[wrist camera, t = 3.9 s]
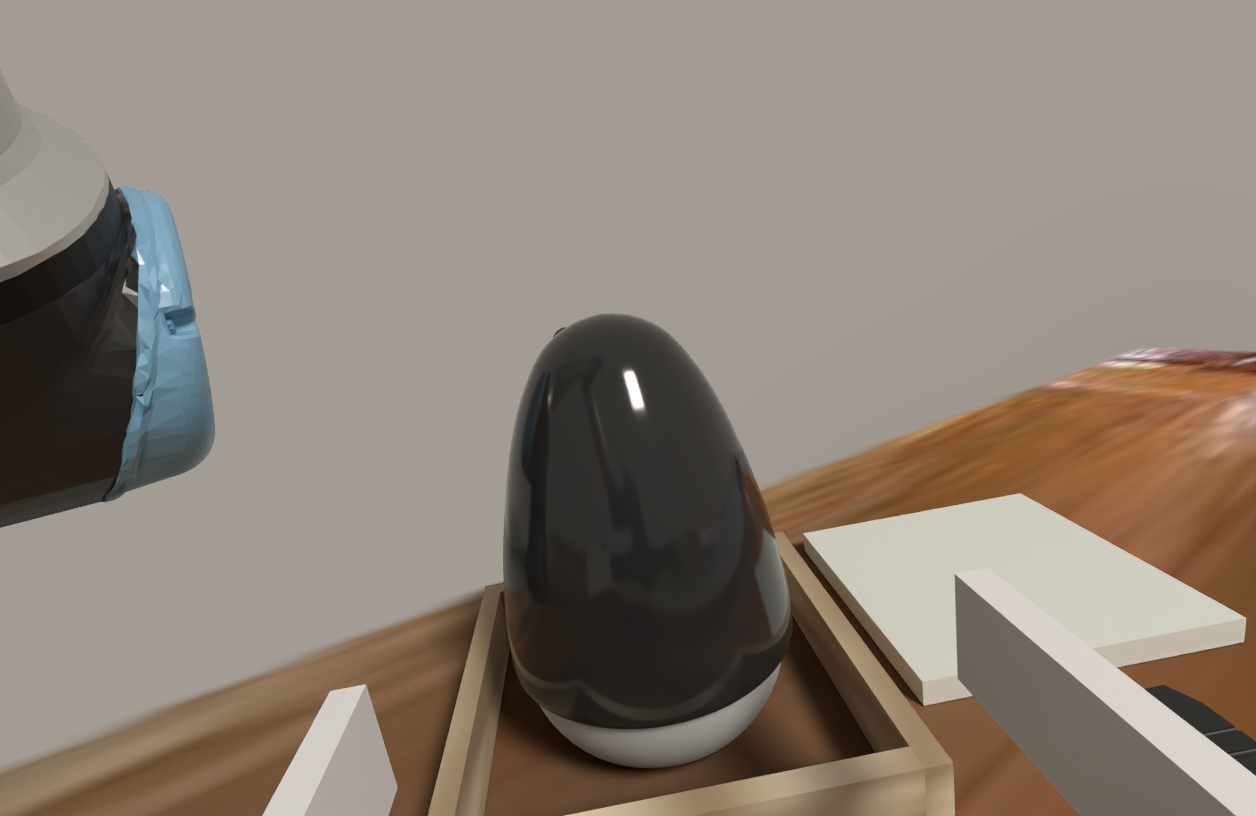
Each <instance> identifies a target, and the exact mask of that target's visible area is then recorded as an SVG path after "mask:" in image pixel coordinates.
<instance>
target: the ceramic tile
mask: <svg viewBox="0 0 1256 816" xmlns="http://www.w3.org/2000/svg"><path fill="white" fill-rule="evenodd" d="M803 538H804V549H805V552H806V553H807V554H808V556H809V557H810V558H811V559H812V561H813V562H814V563H815V565H816V566H817V567H818V569H819V570H820V571H821V573H822V574H823V575H824V576H825V578H826V579H827V580H828V582H829V583H830V584H831V586H832V587H833V588H834V590H835V591H836V592H837V593H838V595H839V596H840V597H841V599H842V600H843V601H844V603H845V604H846V605H847V606H848V608H849V609H850V610H851V612H852V613H853V614H854V616H855V617H856V618H857V620H858V621H859V622H860V623H861V625H862V626H863V627H864V629H865V630H866V631H867V633H868V634H869V635H870V637H871V638H872V639H873V640H874V642H875V643H876V644H877V646H878V647H879V648H880V650H881V651H882V652H883V653H884V655H885V656H886V657H887V659H888V660H889V661H890V663H891V664H892V665H893V667H894V668H895V669H896V670H897V672H898V673H899V674H900V676H901V677H902V678H903V680H904V681H905V682H906V683H907V685H908V686H909V687H910V689H911V690H912V691H913V693H914V694H915V695H916V697H917V698H918V699H919V700H920V702H921V703H922V704H923V706H925V705H930V704H935V703H940V702H945V701H950V700H955V699H960V698H965V697H970V696H973V695H972V694H971V693H970V692H969V691H968V690H967V688H966V687H965V686H964V685H963V684H962V683H961V682H960V681H959V679H958V674H957V640H956V606H955V574H956V573H961V572H966V571H972V570H977V569H982V568H989V569H990V570H991V571H993V572H994V573H995V574H996V575H998V576H999V577H1000V578H1002V579H1003V580H1004V581H1006V582H1007V583H1008V584H1009V585H1011V586H1012V587H1013V588H1015V589H1016V590H1017V591H1018V592H1020V593H1021V594H1022V595H1024V596H1025V597H1026V598H1027V599H1029V600H1030V601H1031V602H1033V603H1034V604H1035V605H1036V606H1038V607H1039V608H1040V609H1042V610H1043V611H1044V612H1045V613H1047V614H1048V615H1049V616H1051V617H1052V618H1053V619H1054V620H1056V621H1057V622H1058V623H1060V624H1061V625H1062V626H1063V627H1065V628H1066V629H1067V630H1069V631H1070V632H1071V633H1072V634H1074V635H1075V636H1076V637H1078V638H1079V639H1080V640H1081V641H1083V642H1084V643H1085V644H1087V645H1088V646H1089V647H1091V648H1092V649H1093V650H1094V651H1096V652H1097V653H1098V654H1100V655H1101V656H1102V657H1103V658H1105V659H1106V660H1107V661H1109V662H1110V663H1111V664H1112V665H1114V666H1115V667H1121V666H1126V665H1131V664H1136V663H1141V662H1147V661H1152V660H1157V659H1162V658H1167V657H1172V656H1177V655H1182V654H1187V653H1192V652H1197V651H1202V650H1207V649H1212V648H1217V647H1222V646H1227V645H1232V644H1237V643H1242V642H1244V636H1245V626H1246V618H1245V617H1244V616H1242V615H1240V614H1238V613H1236V612H1234V611H1233V610H1231V609H1229V608H1227V607H1225V606H1224V605H1222V604H1220V603H1218V602H1216V601H1215V600H1213V599H1211V598H1209V597H1207V596H1205V595H1204V594H1202V593H1200V592H1198V591H1196V590H1195V589H1193V588H1191V587H1189V586H1187V585H1186V584H1184V583H1182V582H1180V581H1178V580H1176V579H1175V578H1173V577H1171V576H1169V575H1167V574H1166V573H1164V572H1162V571H1160V570H1158V569H1156V568H1155V567H1153V566H1151V565H1149V564H1147V563H1146V562H1144V561H1142V560H1140V559H1138V558H1137V557H1135V556H1133V555H1131V554H1129V553H1127V552H1126V551H1124V550H1122V549H1120V548H1118V547H1117V546H1115V545H1113V544H1111V543H1109V542H1107V541H1106V540H1104V539H1102V538H1100V537H1098V536H1097V535H1095V534H1093V533H1091V532H1089V531H1088V530H1086V529H1084V528H1082V527H1080V526H1078V525H1077V524H1075V523H1073V522H1071V521H1069V520H1068V519H1066V518H1064V517H1062V516H1060V515H1058V514H1057V513H1055V512H1053V511H1051V510H1049V509H1048V508H1046V507H1044V506H1042V505H1040V504H1039V503H1037V502H1035V501H1033V500H1031V499H1029V498H1028V497H1026V496H1024V495H1022V494H1014V495H1009V496H1004V497H998V498H993V499H987V500H982V501H977V502H971V503H966V504H960V505H955V506H949V507H944V508H939V509H933V510H928V511H922V512H917V513H912V514H906V515H901V516H895V517H890V518H885V519H879V520H874V521H868V522H863V523H858V524H852V525H847V526H841V527H836V528H830V529H825V530H820V531H814V532H809V533H803Z"/></svg>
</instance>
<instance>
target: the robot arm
mask: <svg viewBox="0 0 1256 816" xmlns="http://www.w3.org/2000/svg"><path fill="white" fill-rule="evenodd" d="M195 318H196V314H195V310H194V306H193V301H192V293H191V286H190V282H189V277H188V273H187V269H186V265H185V260H184V256H183V252H182V248H181V244H180V240H179V236H178V232H177V229H176V225H175V222H174V219H173V216H172V213H171V210H170V208H169V206H168V204H167V202H166V201H165V199H164V198H162V196H160V195H158V194H157V193H154V192H151V191H141V190H137V189H134V188H128V186H124V187H119V188H118V189H115V190H114V189H113V186H112V184H111V181H110V179H109V177H108V174H107V172H106V169H105V167H104V165H103V162H102V160H101V158H100V157H99V156H98V154H97V153H96V151H95V150H94V149H93V147H92V146H91V145H90V144H89V143H88V142H87V141H86V139H85V138H83V137H82V136H80V135H79V134H77V133H76V132H75V131H73V130H72V129H71V128H69V127H67V126H65V125H63V124H61V123H59V122H58V121H56V120H54V119H52V118H49V117H47V116H45V115H43V114H41V113H39V112H36V111H34V110H32V109H30V108H28V107H26V106H24V105H21V104H19V103H17V102H16V101H15V100H14V98H13V96H12V94H11V91H10V89H9V87H8V85H7V83H6V81H5V79H4V77H3V75H2V72H1V70H0V528H1V527H5V526H9V525H12V524H16V523H20V522H24V521H28V520H32V519H36V518H39V517H43V516H47V515H51V514H55V513H59V512H62V511H67V510H70V509H74V508H78V507H82V506H86V505H89V504H94V503H97V502H108V501H112V500H115V499H117V498H119V497H120V496H122V495H123V494H124V493H125V492H127V491H130V490H133V489H136V488H139V487H142V486H146V485H149V484H151V483H154V482H158V481H161V480H164V479H167V478H170V477H173V476H176V475H179V474H182V473H185V472H187V471H189V470H191V469H192V468H194V467H196V466H197V465H198V464H199V463H201V462H202V461H203V460H204V459H205V458H206V456H207V455H208V453H209V452H210V450H211V448H212V445H213V442H214V436H215V422H214V412H213V403H212V396H211V389H210V384H209V377H208V372H207V366H206V360H205V355H204V351H203V346H202V341H201V336H200V332H199V329H198V326H197V325H196V323H195ZM955 606H956V640H957V674H958V679H959V681H960V682H961V683H962V684H963V685H964V686H965V687H966V688H967V690H968V691H969V692H970V693H971V694H972V695H973V696H974V697H975V699H976V700H977V701H978V702H979V703H980V704H981V705H982V706H983V708H984V709H985V710H986V711H987V712H988V713H989V714H990V715H991V717H992V718H993V719H994V720H995V721H996V722H997V723H998V724H999V726H1000V727H1001V728H1002V729H1003V730H1004V731H1005V732H1006V733H1007V735H1008V736H1009V737H1010V738H1011V739H1012V740H1013V741H1014V742H1015V744H1016V745H1017V746H1018V747H1019V748H1020V749H1021V750H1022V751H1023V753H1024V754H1025V755H1026V756H1027V757H1028V758H1029V759H1030V760H1031V762H1032V763H1033V764H1034V765H1035V766H1036V767H1037V768H1038V769H1039V771H1040V772H1041V773H1042V774H1043V775H1044V776H1045V777H1046V778H1047V780H1048V781H1049V782H1050V783H1051V784H1052V785H1053V786H1054V787H1055V789H1056V790H1057V791H1058V792H1059V793H1060V794H1061V795H1062V796H1063V798H1064V799H1065V800H1066V801H1067V802H1068V803H1069V804H1070V805H1071V807H1072V808H1073V809H1074V810H1075V811H1076V812H1077V813H1078V814H1079V816H1256V741H1254V740H1253V739H1251V738H1250V737H1249V736H1247V735H1246V734H1245V733H1243V732H1242V731H1237V730H1236V729H1235V726H1234V725H1232V724H1231V723H1229V722H1228V721H1227V720H1225V719H1224V718H1223V717H1221V716H1220V715H1218V714H1217V713H1216V712H1214V711H1213V710H1212V709H1210V708H1209V707H1207V706H1206V705H1205V704H1203V703H1202V702H1199V701H1197V700H1195V699H1193V698H1191V697H1189V696H1186V695H1184V694H1182V693H1180V692H1178V691H1176V690H1173V689H1171V688H1169V687H1167V686H1165V685H1162V686H1157V687H1152V688H1147V689H1143V688H1142V687H1141V686H1139V685H1138V684H1137V683H1136V682H1134V681H1133V680H1132V679H1130V678H1129V677H1128V676H1127V675H1125V674H1124V673H1123V672H1121V671H1120V670H1119V669H1118V668H1116V667H1115V666H1114V665H1112V664H1111V663H1110V662H1109V661H1107V660H1106V659H1105V658H1103V657H1102V656H1101V655H1100V654H1098V653H1097V652H1096V651H1094V650H1093V649H1092V648H1091V647H1089V646H1088V645H1087V644H1085V643H1084V642H1083V641H1081V640H1080V639H1079V638H1078V637H1076V636H1075V635H1074V634H1072V633H1071V632H1070V631H1069V630H1067V629H1066V628H1065V627H1063V626H1062V625H1061V624H1060V623H1058V622H1057V621H1056V620H1054V619H1053V618H1052V617H1051V616H1049V615H1048V614H1047V613H1045V612H1044V611H1043V610H1042V609H1040V608H1039V607H1038V606H1036V605H1035V604H1034V603H1033V602H1031V601H1030V600H1029V599H1027V598H1026V597H1025V596H1024V595H1022V594H1021V593H1020V592H1018V591H1017V590H1016V589H1015V588H1013V587H1012V586H1011V585H1009V584H1008V583H1007V582H1006V581H1004V580H1003V579H1002V578H1000V577H999V576H998V575H996V574H995V573H994V572H993V571H991V570H990V569H989V568H982V569H977V570H972V571H966V572H961V573H956V574H955ZM397 788H398V787H397V784H396V781H395V778H394V774H393V771H392V768H391V764H390V761H389V758H388V755H387V751H386V748H385V745H384V742H383V738H382V735H381V732H380V728H379V725H378V722H377V719H376V715H375V712H374V709H373V705H372V702H371V699H370V696H369V692H368V689H367V686H366V684H365V685H360V686H355V687H349V688H344V689H339V690H333V691H330V693H329V694H328V696H327V698H326V700H325V702H324V704H323V705H322V707H321V709H320V711H319V713H318V715H317V716H316V718H315V720H314V722H313V724H312V726H311V727H310V729H309V731H308V733H307V735H306V737H305V738H304V740H303V742H302V744H301V746H300V748H299V749H298V751H297V753H296V755H295V757H294V759H293V760H292V762H291V764H290V766H289V768H288V770H287V771H286V773H285V775H284V777H283V779H282V781H281V782H280V784H279V786H278V788H277V790H276V792H275V793H274V795H273V797H272V799H271V801H270V803H269V804H268V806H267V808H266V810H265V812H264V814H263V815H262V816H389V813H390V809H391V806H392V803H393V800H394V797H395V794H396V791H397Z"/></svg>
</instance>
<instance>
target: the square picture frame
mask: <svg viewBox="0 0 1256 816" xmlns="http://www.w3.org/2000/svg"><path fill="white" fill-rule="evenodd" d="M774 534H775V538H776V541H777V545H778V548H779V552H780V556H781V559H782V563H783V567H784V571H785V575H786V579H787V583H788V588H789V594H790V600H791V608H792V615H793V617H794V618H795V620H796V622H797V623H798V625H799V627H800V628H801V630H802V632H803V633H804V635H805V637H806V638H807V640H808V642H809V643H810V645H811V647H812V649H813V650H814V652H815V654H816V655H817V657H818V659H819V660H820V662H821V664H822V665H823V667H824V669H825V670H826V672H827V674H828V675H829V677H830V679H831V680H832V682H833V684H834V685H835V687H836V689H837V690H838V692H839V694H840V695H841V697H842V699H843V700H844V702H845V704H846V705H847V707H848V709H849V710H850V712H851V714H852V715H853V717H854V719H855V720H856V722H857V724H858V725H859V727H860V729H861V730H862V732H863V734H864V735H865V737H866V739H867V740H868V742H869V744H870V745H871V747H872V749H873V750H874V752H875V753H874V754H869V755H864V756H859V757H854V758H849V759H844V760H839V761H834V762H829V763H824V764H819V765H814V766H809V767H804V768H799V769H794V770H789V771H784V772H779V773H774V774H769V775H764V776H759V777H755V778H750V779H745V780H740V781H735V782H730V783H725V784H720V785H715V786H710V787H705V788H700V789H695V790H690V791H685V792H680V793H675V794H670V795H665V796H660V797H655V798H650V799H645V800H640V801H635V802H630V803H625V804H620V805H615V806H610V807H605V808H600V809H595V810H590V811H585V812H580V813H576V814H571V815H566V816H955V804H954V774H953V762H952V761H951V759H950V758H949V757H948V755H947V754H946V752H945V751H944V750H943V748H942V747H941V746H940V744H939V743H938V742H937V740H936V739H935V738H934V736H933V735H932V734H931V732H930V731H929V729H928V728H927V727H926V725H925V724H924V723H923V721H922V720H921V719H920V717H919V716H918V715H917V713H916V712H915V710H914V709H913V708H912V706H911V705H910V704H909V702H908V701H907V700H906V698H905V697H904V696H903V694H902V693H901V692H900V690H899V689H898V687H897V686H896V685H895V683H894V682H893V681H892V679H891V678H890V677H889V675H888V674H887V673H886V671H885V670H884V669H883V667H882V666H881V664H880V663H879V662H878V660H877V659H876V658H875V656H874V655H873V654H872V652H871V651H870V650H869V648H868V647H867V646H866V644H865V643H864V641H863V640H862V639H861V637H860V636H859V635H858V633H857V632H856V631H855V629H854V628H853V627H852V625H851V624H850V623H849V621H848V620H847V618H846V617H845V616H844V614H843V613H842V612H841V610H840V609H839V608H838V606H837V605H836V604H835V602H834V601H833V599H832V598H831V597H830V595H829V594H828V593H827V591H826V590H825V589H824V587H823V586H822V585H821V583H820V582H819V581H818V579H817V578H816V576H815V575H814V574H813V572H812V571H811V570H810V568H809V567H808V566H807V564H806V563H805V562H804V560H803V559H802V558H801V556H800V555H799V553H798V552H797V551H796V549H795V548H794V547H793V545H792V544H791V543H790V541H789V540H788V539H787V537H786V536H785V535H784V533H783V532H777V533H774ZM509 648H510V647H509V641H508V633H507V624H506V610H505V594H504V583H500V584H495V585H489V586H485V590H484V594H483V598H482V602H481V606H480V610H479V614H478V618H477V622H476V626H475V630H474V634H473V638H472V642H471V646H470V650H469V654H468V658H467V662H466V666H465V670H464V674H463V678H462V682H461V686H460V690H459V694H458V698H457V701H456V705H455V709H454V713H453V717H452V721H451V725H450V729H449V733H448V737H447V741H446V745H445V749H444V753H443V757H442V761H441V765H440V769H439V773H438V777H437V781H436V785H435V789H434V793H433V797H432V801H431V805H430V809H429V813H428V816H484V811H485V805H486V798H487V792H488V785H489V779H490V772H491V766H492V759H493V753H494V746H495V740H496V733H497V727H498V720H499V714H500V707H501V701H502V694H503V688H504V681H505V674H506V668H507V661H508V655H509Z"/></svg>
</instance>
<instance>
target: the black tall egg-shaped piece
mask: <svg viewBox="0 0 1256 816" xmlns="http://www.w3.org/2000/svg"><path fill="white" fill-rule="evenodd" d="M503 565H504V567H503V571H504V594H505V610H506V624H507V633H508V641H509V647H510V652H511V657H512V661H513V665H514V669H515V672H516V675H517V678H518V680H519V682H520V684H521V685H522V687H523V688H524V690H525V691H526V692H527V693H528V695H529V696H530V697H531V698H532V699H533V700H535V701H536V702H537V703H538V704H539V706H540V707H541V709H542V710H543V712H544V713H545V715H546V716H547V718H548V719H549V720H550V721H551V723H552V724H553V725H554V726H555V727H556V728H557V729H558V730H559V731H560V732H561V733H562V734H563V735H564V736H565V737H566V738H567V739H569V740H570V741H571V742H572V743H573V744H575V745H576V746H578V747H579V748H581V749H582V750H584V751H585V752H587V753H589V754H591V755H593V756H595V757H598V758H600V759H602V760H605V761H608V762H611V763H615V764H618V765H623V766H628V767H636V768H664V767H671V766H677V765H682V764H686V763H689V762H692V761H696V760H698V759H701V758H703V757H706V756H708V755H710V754H712V753H714V752H716V751H718V750H719V749H721V748H723V747H724V746H726V745H727V744H729V743H730V742H731V741H733V740H734V739H735V738H737V737H738V736H739V735H740V734H741V733H742V732H743V731H744V730H745V729H746V728H747V727H748V726H749V725H750V724H751V723H752V722H753V721H754V720H755V718H756V717H757V716H758V714H759V713H760V711H761V710H762V709H763V707H764V705H765V703H766V702H767V700H768V698H769V696H770V694H771V692H772V690H773V687H774V685H775V682H776V679H777V676H778V673H779V669H780V665H781V661H782V659H783V658H784V656H785V654H786V652H787V649H788V647H789V644H790V641H791V636H792V629H793V619H792V608H791V600H790V594H789V588H788V583H787V579H786V575H785V571H784V567H783V563H782V559H781V556H780V552H779V548H778V545H777V541H776V538H775V534H774V531H773V527H772V524H771V521H770V518H769V515H768V512H767V509H766V506H765V503H764V500H763V498H762V495H761V492H760V490H759V487H758V484H757V482H756V479H755V477H754V474H753V472H752V469H751V467H750V465H749V462H748V460H747V458H746V455H745V453H744V450H743V448H742V446H741V444H740V442H739V439H738V437H737V435H736V432H735V431H734V428H733V426H732V424H731V422H730V420H729V418H728V416H727V414H726V412H725V410H724V408H723V406H722V404H721V402H720V401H719V399H718V397H717V395H716V394H715V392H714V390H713V388H712V387H711V385H710V384H709V382H708V381H707V379H706V377H705V376H704V374H703V373H702V371H701V370H700V369H699V367H698V366H697V365H696V363H695V362H694V360H693V359H692V358H691V357H690V356H689V354H688V353H687V352H686V351H685V350H684V348H683V347H682V346H681V345H680V344H679V343H678V342H677V341H676V340H675V339H674V338H673V337H672V336H671V335H670V334H669V333H668V332H666V331H665V330H664V329H662V328H661V327H659V326H657V325H655V324H654V323H652V322H649V321H647V320H644V319H642V318H638V317H635V316H631V315H625V314H599V315H595V316H591V317H587V318H585V319H582V320H579V321H577V322H575V323H573V324H571V325H570V326H568V327H564V328H561V329H559V330H558V331H557V332H556V333H555V335H554V336H553V338H552V339H551V340H550V342H549V343H548V344H547V345H546V346H545V347H544V348H543V350H542V351H541V353H540V354H539V356H538V358H537V359H536V362H535V363H534V366H533V368H532V370H531V373H530V375H529V377H528V380H527V383H526V385H525V388H524V391H523V394H522V397H521V401H520V404H519V408H518V412H517V416H516V420H515V425H514V430H513V436H512V441H511V448H510V456H509V465H508V474H507V486H506V500H505V516H504V538H503Z"/></svg>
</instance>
